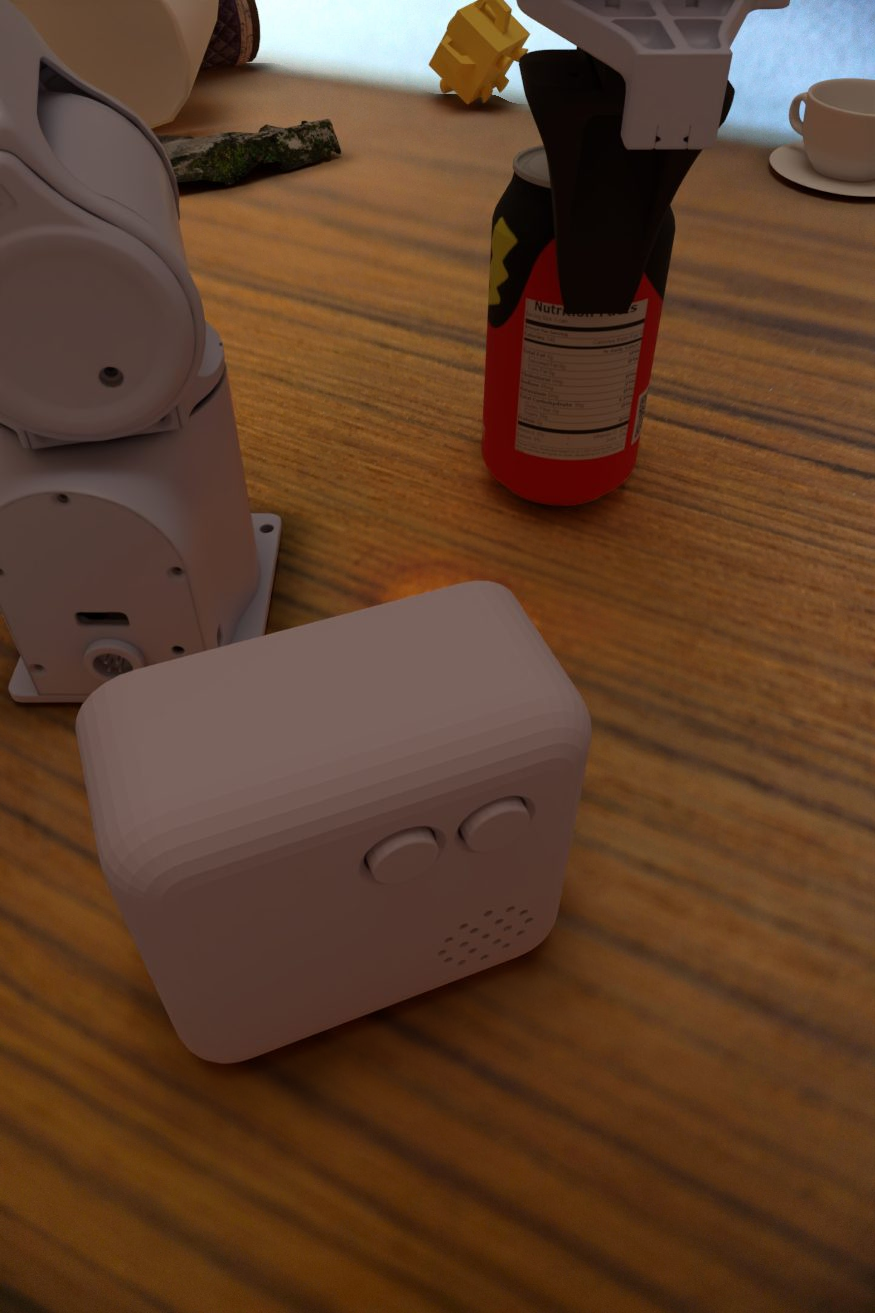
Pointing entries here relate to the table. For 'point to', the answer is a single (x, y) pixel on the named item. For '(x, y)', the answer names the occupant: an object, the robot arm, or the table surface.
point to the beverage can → (561, 357)
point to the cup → (130, 47)
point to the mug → (233, 35)
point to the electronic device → (336, 812)
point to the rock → (248, 151)
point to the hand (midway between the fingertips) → (594, 308)
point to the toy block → (479, 50)
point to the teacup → (832, 138)
